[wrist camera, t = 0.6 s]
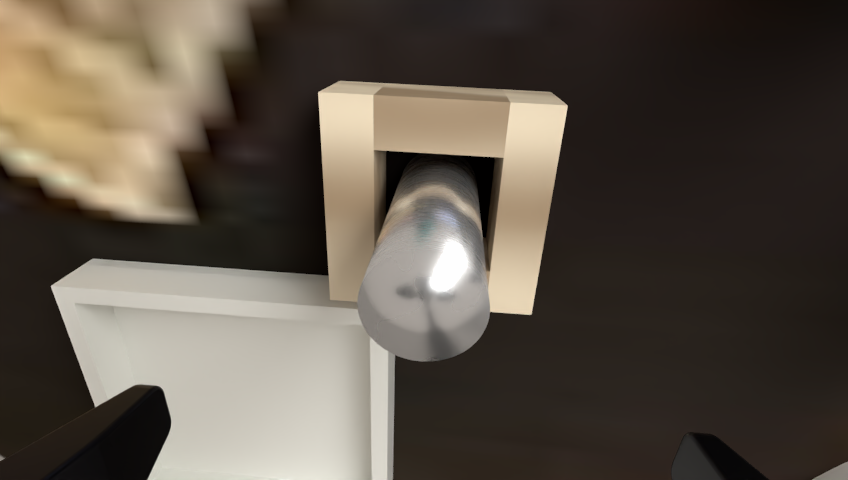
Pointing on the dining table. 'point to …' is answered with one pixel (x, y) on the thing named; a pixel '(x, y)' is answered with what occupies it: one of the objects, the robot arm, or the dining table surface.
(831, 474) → the plate stack
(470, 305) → the pin
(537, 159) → the square wooden frame
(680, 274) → the dining table surface
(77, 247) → the dining table surface
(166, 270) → the tray
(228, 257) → the dining table surface
